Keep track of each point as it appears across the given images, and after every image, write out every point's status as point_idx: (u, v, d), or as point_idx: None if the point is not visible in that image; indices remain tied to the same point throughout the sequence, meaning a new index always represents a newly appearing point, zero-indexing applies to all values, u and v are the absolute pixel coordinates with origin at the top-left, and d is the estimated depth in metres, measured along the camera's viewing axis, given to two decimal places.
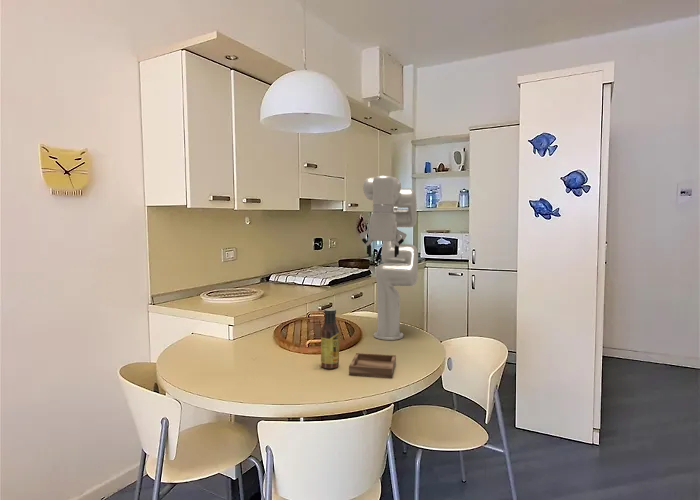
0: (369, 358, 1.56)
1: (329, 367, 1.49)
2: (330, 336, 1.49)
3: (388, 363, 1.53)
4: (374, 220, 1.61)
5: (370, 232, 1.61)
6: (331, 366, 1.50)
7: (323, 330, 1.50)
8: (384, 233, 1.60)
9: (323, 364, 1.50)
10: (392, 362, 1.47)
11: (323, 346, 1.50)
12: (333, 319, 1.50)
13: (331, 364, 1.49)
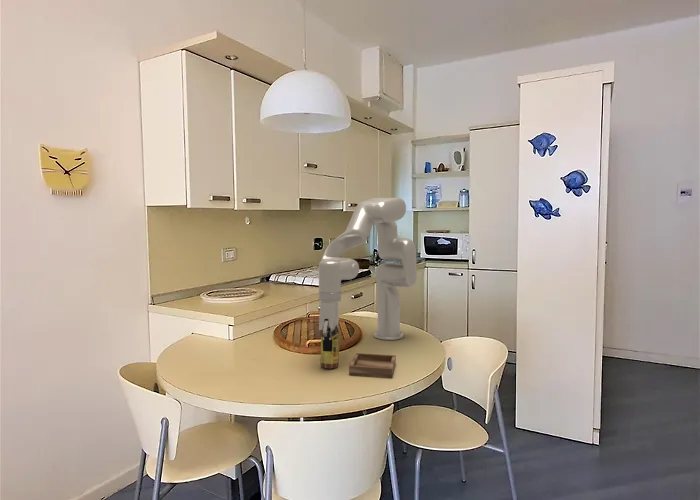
0: (369, 358, 1.56)
1: (329, 367, 1.49)
2: None
3: (388, 363, 1.53)
4: (334, 309, 1.48)
5: (332, 323, 1.47)
6: (331, 366, 1.49)
7: None
8: (337, 320, 1.52)
9: (323, 364, 1.50)
10: (392, 362, 1.47)
11: None
12: None
13: (331, 364, 1.49)
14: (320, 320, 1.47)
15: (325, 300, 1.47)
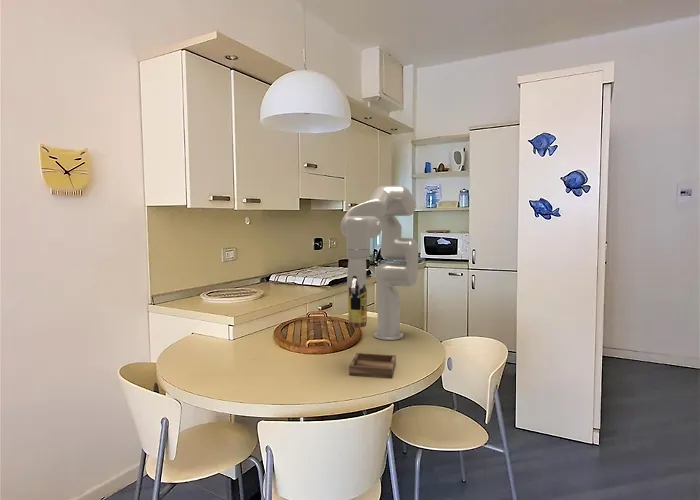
0: (369, 358, 1.56)
1: (357, 326, 1.47)
2: None
3: (388, 363, 1.53)
4: (362, 267, 1.45)
5: (361, 280, 1.44)
6: (359, 325, 1.47)
7: None
8: (365, 279, 1.49)
9: (351, 323, 1.48)
10: (392, 362, 1.47)
11: None
12: None
13: (359, 323, 1.47)
14: (348, 277, 1.44)
15: (353, 257, 1.44)
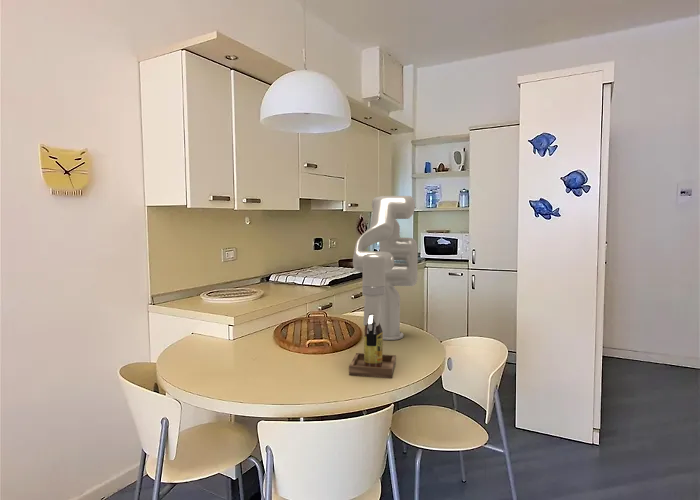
0: None
1: None
2: None
3: (388, 363, 1.53)
4: (379, 304, 1.45)
5: (377, 318, 1.44)
6: (375, 366, 1.47)
7: None
8: (380, 315, 1.49)
9: (367, 364, 1.48)
10: (392, 362, 1.47)
11: None
12: None
13: (375, 363, 1.47)
14: (365, 315, 1.44)
15: (370, 294, 1.44)
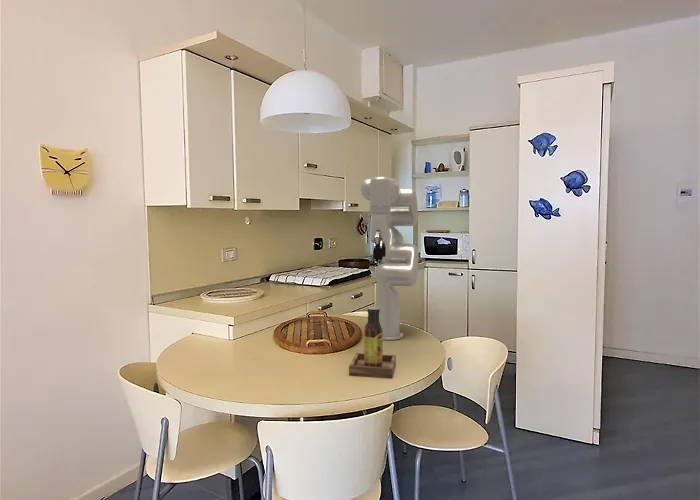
0: None
1: None
2: (374, 335, 1.46)
3: (388, 363, 1.53)
4: (385, 222, 1.58)
5: (384, 234, 1.57)
6: (375, 366, 1.47)
7: (367, 329, 1.47)
8: (386, 234, 1.62)
9: (367, 364, 1.48)
10: (392, 362, 1.47)
11: (367, 345, 1.47)
12: (377, 318, 1.48)
13: (375, 363, 1.47)
14: (372, 231, 1.57)
15: (376, 213, 1.58)
